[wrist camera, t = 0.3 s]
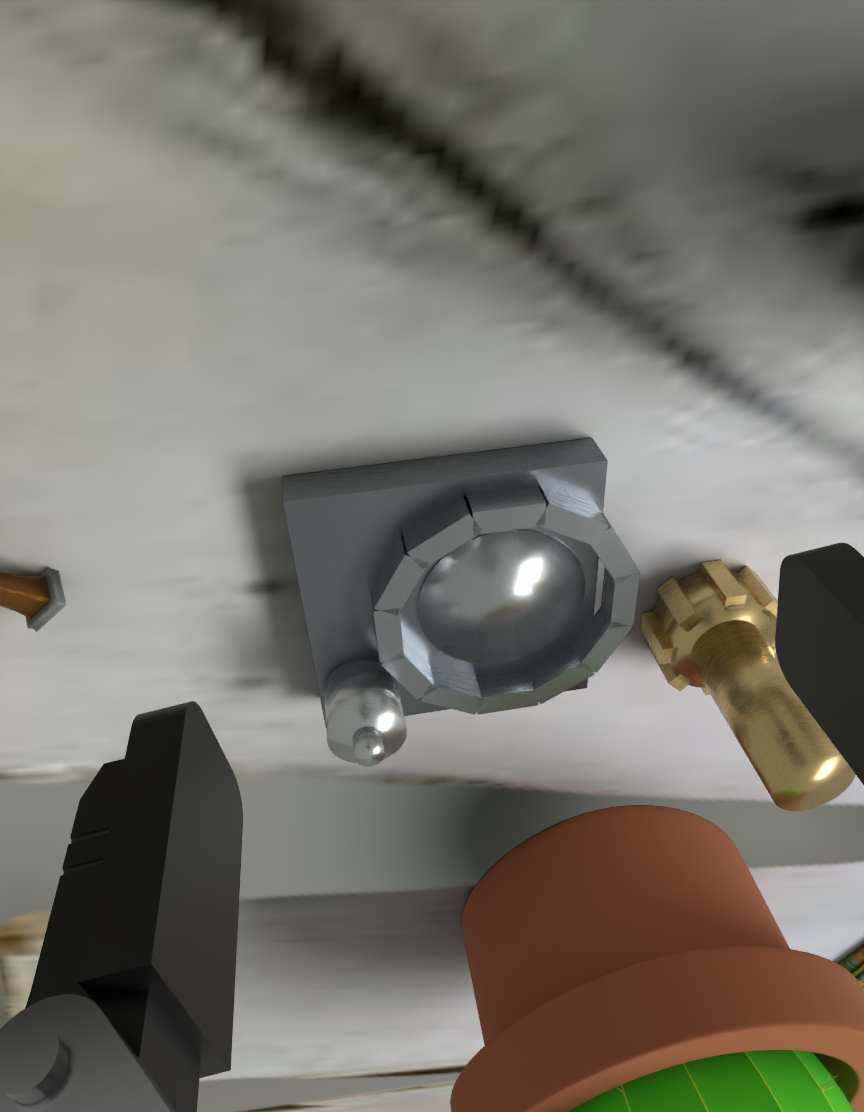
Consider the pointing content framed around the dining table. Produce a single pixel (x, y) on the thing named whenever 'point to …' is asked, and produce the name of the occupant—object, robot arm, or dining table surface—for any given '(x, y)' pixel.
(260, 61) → the dining table surface
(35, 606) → the brown thin angular piece
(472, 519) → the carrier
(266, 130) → the dining table surface
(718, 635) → the gear
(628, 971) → the potted cactus
